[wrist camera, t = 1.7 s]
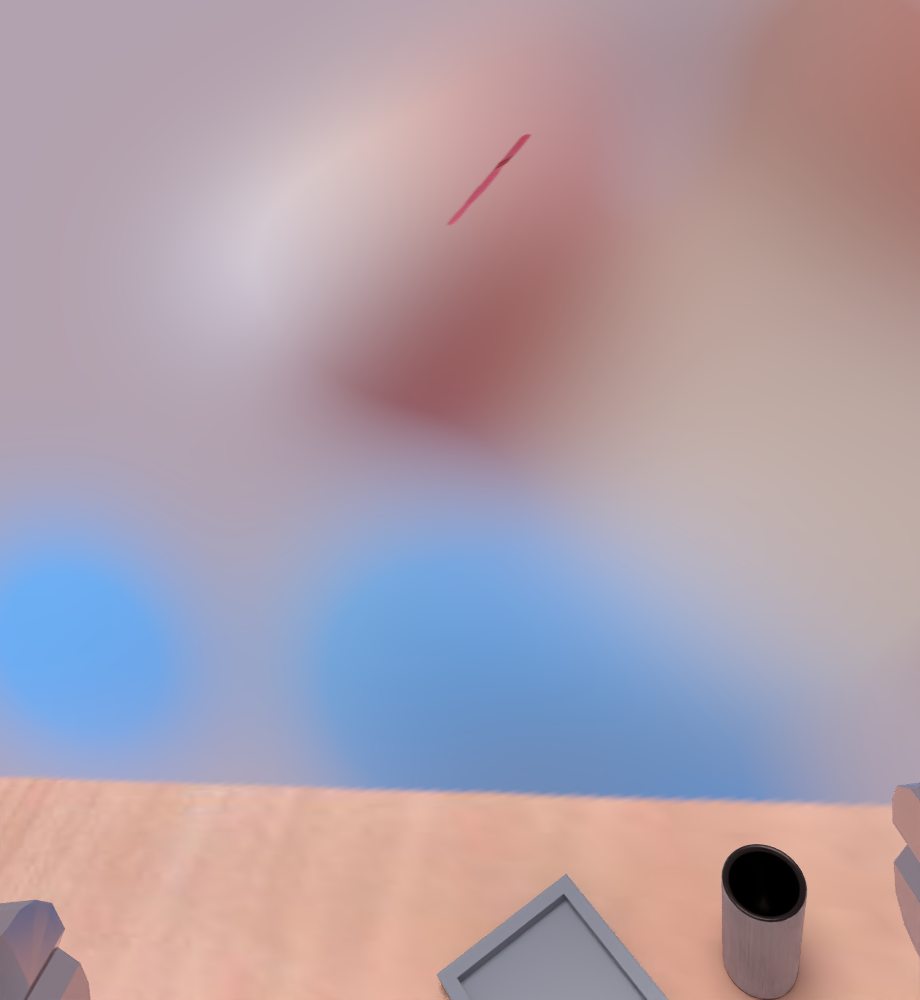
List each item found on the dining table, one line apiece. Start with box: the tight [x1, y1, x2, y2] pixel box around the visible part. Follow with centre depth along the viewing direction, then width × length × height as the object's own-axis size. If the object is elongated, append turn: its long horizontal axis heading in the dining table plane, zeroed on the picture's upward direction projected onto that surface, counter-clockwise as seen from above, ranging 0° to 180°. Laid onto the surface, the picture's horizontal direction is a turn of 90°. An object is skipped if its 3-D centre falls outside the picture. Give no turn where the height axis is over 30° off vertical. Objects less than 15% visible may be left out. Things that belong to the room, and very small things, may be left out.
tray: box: [437, 874, 668, 1000], centre depth 52 cm, size 11×11×2 cm
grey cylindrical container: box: [722, 844, 807, 999], centre depth 48 cm, size 4×4×10 cm
